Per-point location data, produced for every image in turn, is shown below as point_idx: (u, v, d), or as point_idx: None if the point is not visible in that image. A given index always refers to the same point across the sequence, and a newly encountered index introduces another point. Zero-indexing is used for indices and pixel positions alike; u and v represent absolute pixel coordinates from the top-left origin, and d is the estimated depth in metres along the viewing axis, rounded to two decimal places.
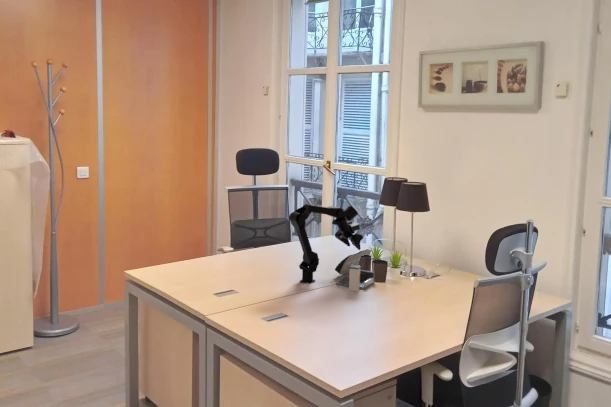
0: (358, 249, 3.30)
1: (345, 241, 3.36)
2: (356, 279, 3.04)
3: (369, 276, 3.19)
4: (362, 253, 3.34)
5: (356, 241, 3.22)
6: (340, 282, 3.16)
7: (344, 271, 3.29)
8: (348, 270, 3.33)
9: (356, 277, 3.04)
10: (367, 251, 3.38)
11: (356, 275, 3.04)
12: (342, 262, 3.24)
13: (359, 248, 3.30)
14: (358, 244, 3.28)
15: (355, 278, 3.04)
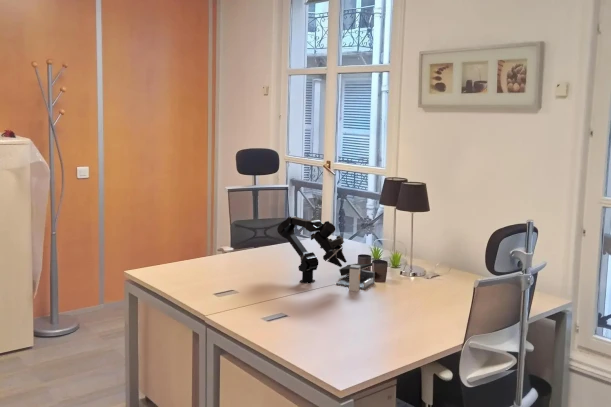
0: (339, 266, 3.03)
1: (339, 257, 3.12)
2: (356, 279, 3.04)
3: (369, 276, 3.19)
4: (371, 265, 3.31)
5: (325, 258, 3.00)
6: (340, 282, 3.16)
7: None
8: None
9: (356, 277, 3.04)
10: None
11: (356, 275, 3.03)
12: (349, 270, 3.21)
13: (339, 265, 3.02)
14: (336, 261, 3.02)
15: (355, 278, 3.04)
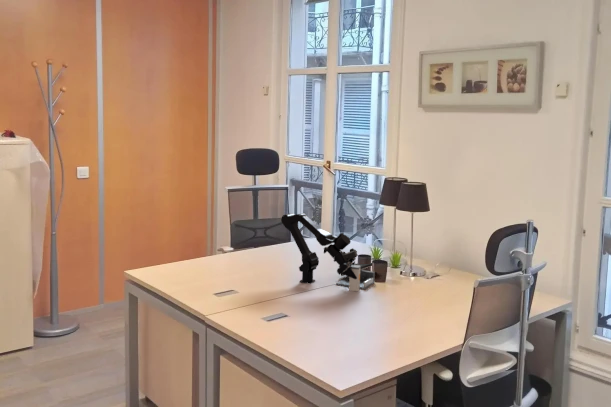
0: (354, 278, 3.04)
1: None
2: (356, 279, 3.04)
3: (369, 276, 3.19)
4: (371, 265, 3.31)
5: (338, 271, 2.99)
6: (340, 282, 3.16)
7: None
8: None
9: None
10: None
11: (356, 275, 3.03)
12: None
13: (354, 277, 3.03)
14: (351, 273, 3.03)
15: None
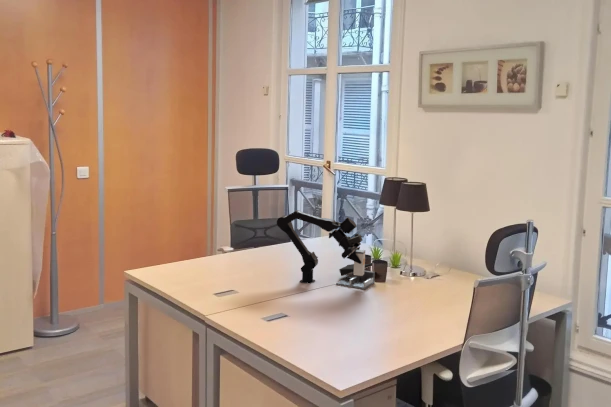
0: None
1: None
2: (361, 264, 3.07)
3: (369, 276, 3.19)
4: (371, 265, 3.31)
5: (343, 255, 3.02)
6: (340, 282, 3.16)
7: None
8: None
9: None
10: None
11: (361, 260, 3.07)
12: (349, 270, 3.21)
13: (359, 262, 3.07)
14: (355, 257, 3.06)
15: None
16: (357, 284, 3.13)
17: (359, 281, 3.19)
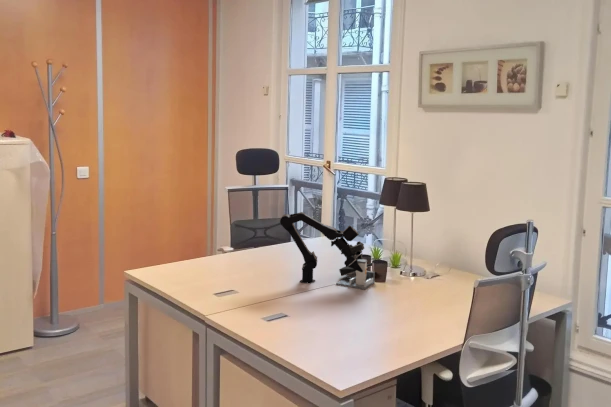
0: (360, 271, 3.10)
1: None
2: (363, 273, 3.12)
3: (369, 276, 3.19)
4: (371, 265, 3.31)
5: (346, 263, 3.06)
6: (340, 282, 3.16)
7: None
8: None
9: (363, 271, 3.11)
10: None
11: (363, 269, 3.11)
12: (349, 270, 3.21)
13: (360, 270, 3.09)
14: (357, 266, 3.09)
15: (362, 272, 3.12)
16: (357, 284, 3.13)
17: None
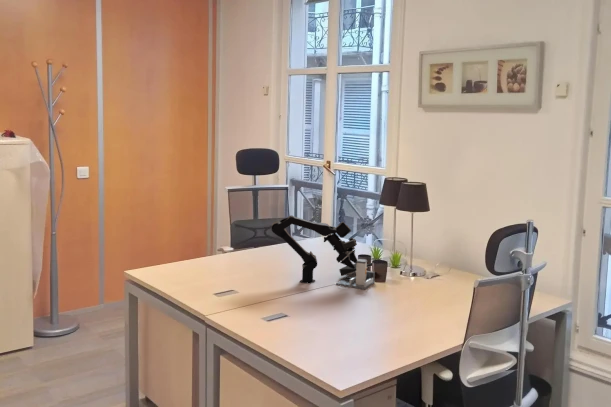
0: None
1: (352, 259, 3.19)
2: (363, 273, 3.12)
3: (369, 276, 3.19)
4: (371, 265, 3.31)
5: (338, 259, 3.07)
6: (340, 282, 3.16)
7: None
8: None
9: (363, 271, 3.11)
10: None
11: (363, 269, 3.11)
12: (349, 270, 3.21)
13: (352, 267, 3.10)
14: (349, 262, 3.09)
15: (362, 272, 3.12)
16: (357, 284, 3.13)
17: None
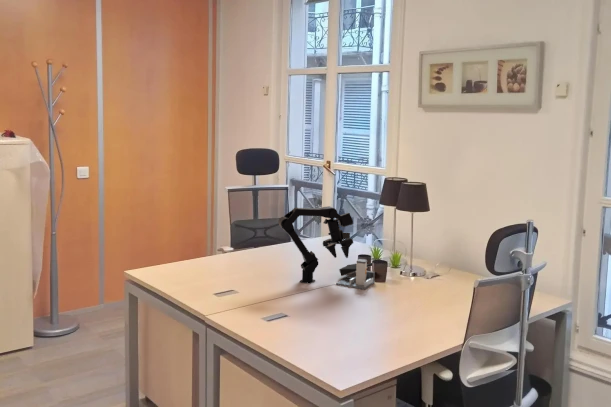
0: (346, 256, 3.16)
1: (332, 250, 3.23)
2: (363, 273, 3.12)
3: (369, 276, 3.19)
4: (371, 265, 3.31)
5: (346, 243, 3.11)
6: (340, 282, 3.16)
7: None
8: None
9: (363, 271, 3.11)
10: None
11: (363, 269, 3.11)
12: (349, 270, 3.21)
13: (347, 256, 3.16)
14: (347, 250, 3.16)
15: (362, 272, 3.12)
16: (357, 284, 3.13)
17: None
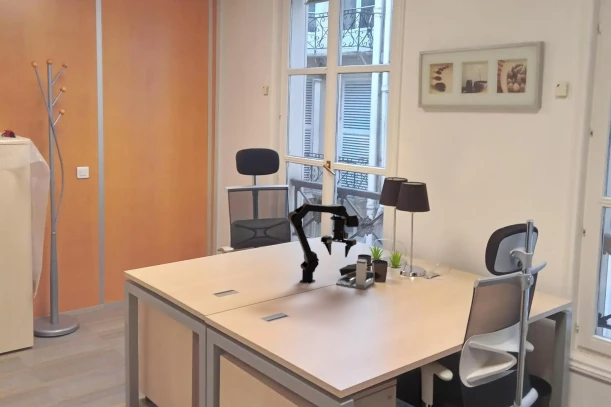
0: (345, 256, 3.20)
1: (329, 248, 3.23)
2: (363, 273, 3.12)
3: (369, 276, 3.19)
4: (371, 265, 3.31)
5: (353, 243, 3.15)
6: (340, 282, 3.16)
7: None
8: None
9: (363, 271, 3.11)
10: None
11: (363, 269, 3.11)
12: (349, 270, 3.21)
13: (346, 255, 3.20)
14: (348, 250, 3.19)
15: (362, 272, 3.12)
16: (357, 284, 3.13)
17: None
